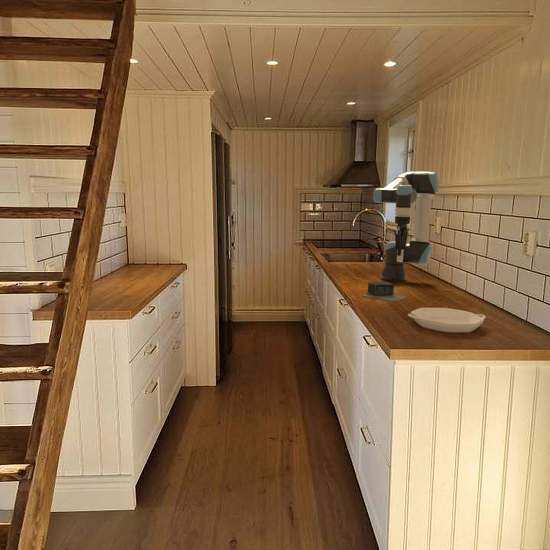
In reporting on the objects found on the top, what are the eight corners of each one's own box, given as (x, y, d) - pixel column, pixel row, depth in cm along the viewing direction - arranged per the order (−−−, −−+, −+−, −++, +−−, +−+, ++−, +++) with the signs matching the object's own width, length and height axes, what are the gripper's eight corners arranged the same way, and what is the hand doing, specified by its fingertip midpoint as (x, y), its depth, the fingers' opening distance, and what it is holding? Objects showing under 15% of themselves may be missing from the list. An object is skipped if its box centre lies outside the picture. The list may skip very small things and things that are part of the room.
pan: (419, 334, 175) (420, 323, 175) (396, 317, 200) (397, 307, 200) (500, 335, 178) (502, 323, 177) (468, 317, 203) (469, 307, 202)
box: (385, 292, 250) (367, 292, 247) (386, 281, 249) (368, 281, 246) (393, 295, 242) (374, 295, 239) (394, 284, 242) (375, 284, 239)
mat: (374, 292, 250) (374, 291, 250) (407, 297, 239) (407, 297, 239) (362, 296, 239) (362, 295, 239) (396, 302, 228) (396, 301, 228)
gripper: (400, 215, 251) (398, 259, 256) (390, 216, 241) (387, 262, 245) (414, 215, 247) (411, 261, 251) (404, 217, 236) (401, 264, 241)
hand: (399, 261), depth 248 cm, fingers closed
